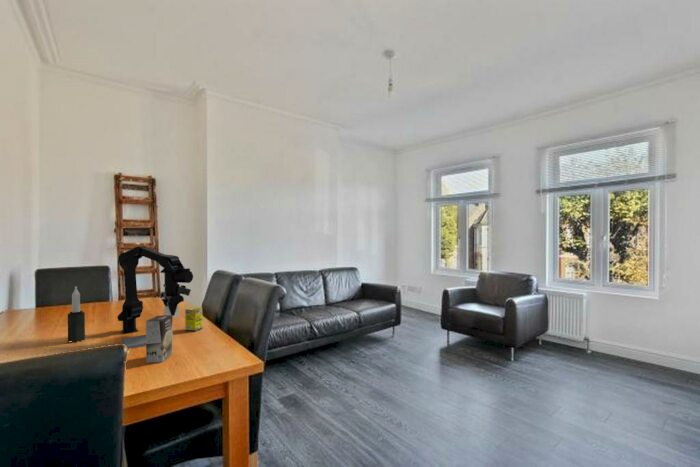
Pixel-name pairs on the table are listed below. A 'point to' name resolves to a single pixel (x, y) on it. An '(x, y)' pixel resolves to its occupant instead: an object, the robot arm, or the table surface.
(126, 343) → the rubber mat
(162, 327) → the coffee box
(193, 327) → the supplement box
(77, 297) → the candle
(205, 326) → the table surface
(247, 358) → the table surface
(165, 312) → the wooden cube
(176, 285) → the robot arm
